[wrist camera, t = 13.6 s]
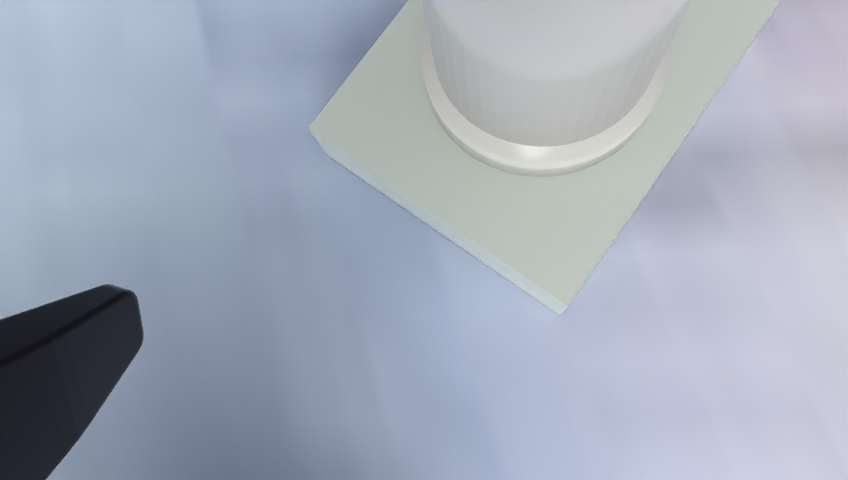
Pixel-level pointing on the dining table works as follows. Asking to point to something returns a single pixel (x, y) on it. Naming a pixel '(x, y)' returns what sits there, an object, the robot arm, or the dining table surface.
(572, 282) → the sage block
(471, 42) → the cream jar
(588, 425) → the dining table surface
